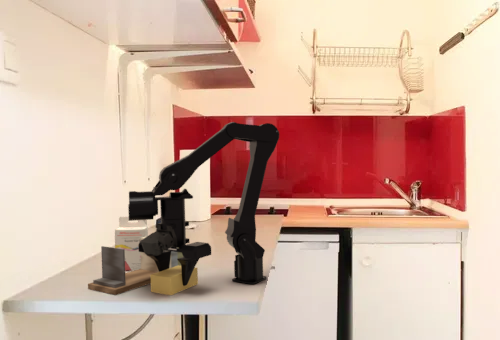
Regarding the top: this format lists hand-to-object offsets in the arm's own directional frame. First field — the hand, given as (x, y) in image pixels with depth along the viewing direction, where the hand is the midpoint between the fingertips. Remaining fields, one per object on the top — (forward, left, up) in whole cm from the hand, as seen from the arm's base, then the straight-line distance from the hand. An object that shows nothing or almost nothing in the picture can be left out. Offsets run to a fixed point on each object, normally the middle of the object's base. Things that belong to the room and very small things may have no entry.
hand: (174, 283), depth 105 cm
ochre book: (0, 0, -1) cm, 1 cm away
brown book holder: (+13, -1, -1) cm, 13 cm away
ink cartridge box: (+24, -8, -1) cm, 25 cm away
